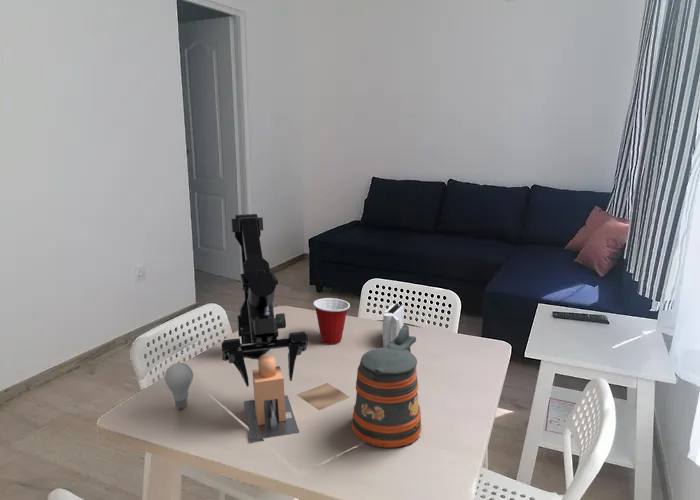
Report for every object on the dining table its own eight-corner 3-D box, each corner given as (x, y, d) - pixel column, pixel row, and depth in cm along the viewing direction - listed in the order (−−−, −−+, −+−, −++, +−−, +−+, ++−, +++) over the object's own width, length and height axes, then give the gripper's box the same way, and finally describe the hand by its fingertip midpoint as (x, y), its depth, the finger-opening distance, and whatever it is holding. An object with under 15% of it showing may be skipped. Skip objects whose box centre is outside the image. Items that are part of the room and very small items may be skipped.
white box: (399, 354, 148) (399, 320, 146) (380, 352, 149) (380, 319, 147) (404, 334, 162) (404, 303, 159) (386, 333, 163) (386, 302, 160)
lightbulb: (170, 418, 116) (165, 372, 114) (165, 405, 122) (161, 361, 119) (198, 411, 119) (194, 366, 116) (192, 399, 124) (189, 356, 122)
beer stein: (372, 396, 125) (373, 317, 120) (433, 408, 120) (436, 325, 115) (341, 439, 108) (340, 349, 103) (410, 456, 103) (413, 361, 98)
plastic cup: (350, 348, 152) (349, 309, 149) (312, 348, 152) (311, 309, 149) (350, 333, 163) (350, 296, 160) (315, 333, 163) (314, 296, 160)
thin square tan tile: (297, 396, 125) (296, 394, 125) (327, 384, 131) (327, 382, 131) (319, 411, 118) (319, 409, 118) (350, 398, 124) (350, 396, 124)
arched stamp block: (255, 410, 118) (251, 355, 115) (282, 406, 119) (278, 351, 116) (258, 425, 112) (253, 367, 109) (286, 420, 114) (282, 363, 111)
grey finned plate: (244, 403, 122) (243, 383, 121) (287, 397, 125) (286, 377, 124) (250, 442, 107) (249, 420, 106) (299, 434, 110) (298, 412, 109)
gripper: (218, 305, 111) (224, 376, 104) (305, 297, 116) (317, 364, 108) (219, 326, 120) (225, 393, 113) (300, 318, 125) (310, 382, 118)
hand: (269, 383), depth 113 cm, fingers open, 9 cm apart
